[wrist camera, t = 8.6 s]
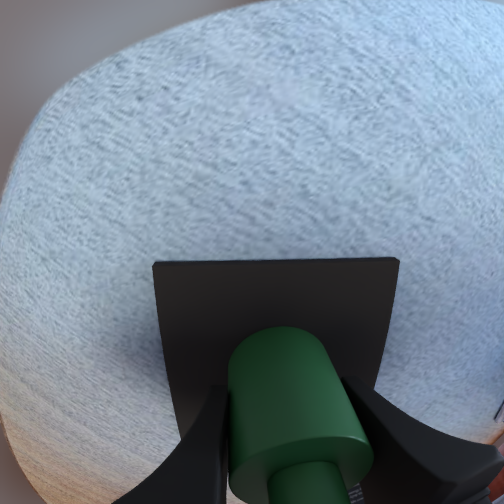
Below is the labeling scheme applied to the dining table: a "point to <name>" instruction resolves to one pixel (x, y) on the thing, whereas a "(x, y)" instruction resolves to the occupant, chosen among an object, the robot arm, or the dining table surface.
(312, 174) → the dining table surface
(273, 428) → the bottle
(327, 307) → the mat
